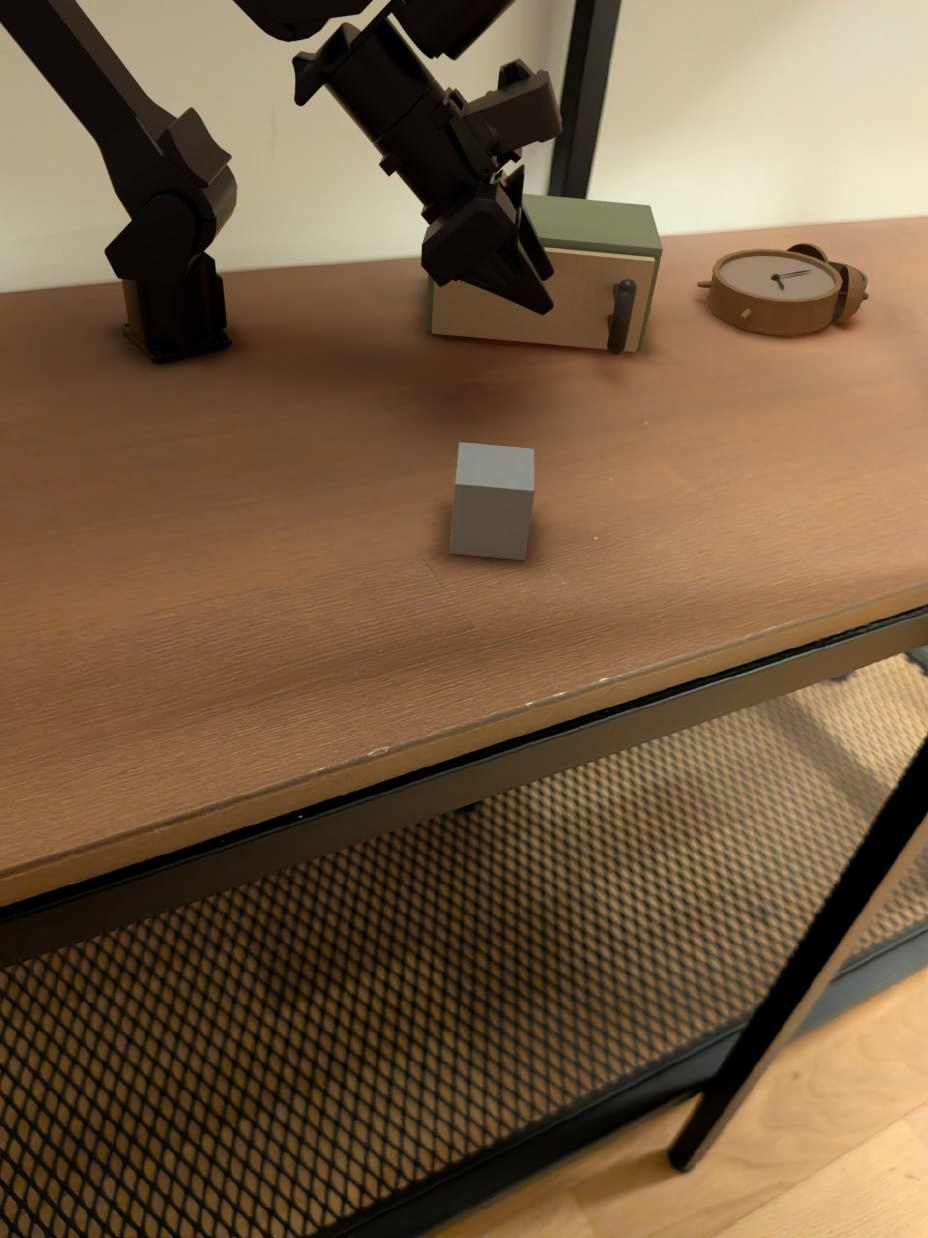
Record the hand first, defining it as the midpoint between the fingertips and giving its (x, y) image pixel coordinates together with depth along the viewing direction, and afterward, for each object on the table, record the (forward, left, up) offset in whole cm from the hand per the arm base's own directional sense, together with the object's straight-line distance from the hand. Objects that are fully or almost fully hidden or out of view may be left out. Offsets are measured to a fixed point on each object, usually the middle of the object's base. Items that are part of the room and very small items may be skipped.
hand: (549, 292), depth 70 cm
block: (-16, -14, -7) cm, 22 cm away
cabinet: (+7, +9, -7) cm, 13 cm away
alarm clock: (+29, -1, -7) cm, 30 cm away
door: (+2, +2, -6) cm, 7 cm away
